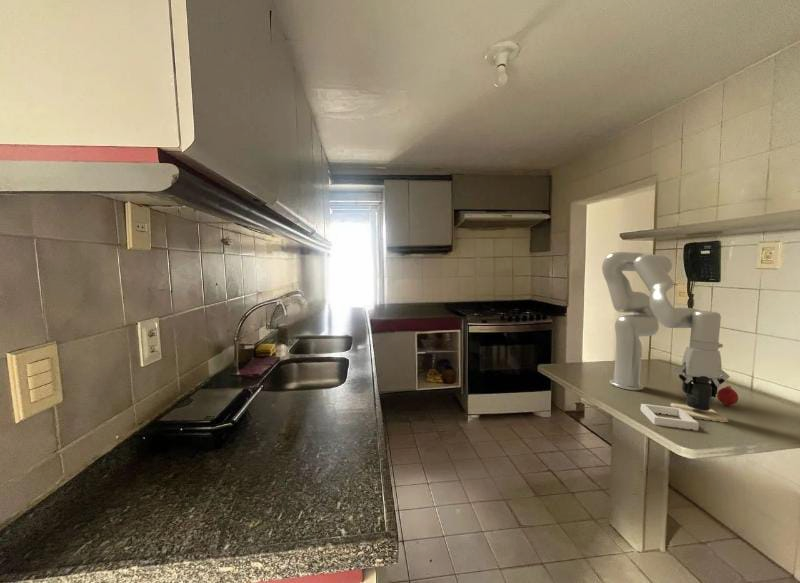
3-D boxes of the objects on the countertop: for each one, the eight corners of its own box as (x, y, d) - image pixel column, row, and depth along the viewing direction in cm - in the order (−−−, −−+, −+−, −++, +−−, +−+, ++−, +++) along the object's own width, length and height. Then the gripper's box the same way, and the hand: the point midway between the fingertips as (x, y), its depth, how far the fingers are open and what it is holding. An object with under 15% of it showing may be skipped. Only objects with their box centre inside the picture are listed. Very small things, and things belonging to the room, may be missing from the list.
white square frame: (640, 410, 123) (641, 403, 123) (679, 415, 120) (680, 408, 120) (654, 424, 112) (654, 417, 112) (698, 430, 108) (698, 423, 108)
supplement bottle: (715, 412, 117) (718, 378, 117) (693, 409, 119) (696, 376, 118) (702, 404, 124) (705, 372, 123) (681, 402, 125) (684, 370, 125)
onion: (732, 410, 126) (734, 389, 125) (713, 404, 131) (715, 384, 130) (740, 407, 128) (742, 387, 127) (721, 402, 133) (723, 382, 133)
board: (670, 405, 129) (670, 402, 128) (709, 410, 125) (709, 407, 125) (685, 417, 118) (685, 414, 118) (727, 422, 115) (728, 420, 114)
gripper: (727, 345, 121) (722, 394, 122) (669, 341, 126) (665, 387, 127) (741, 350, 114) (735, 401, 115) (679, 345, 119) (675, 394, 120)
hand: (699, 394), depth 121 cm, fingers closed on supplement bottle, 6 cm apart
